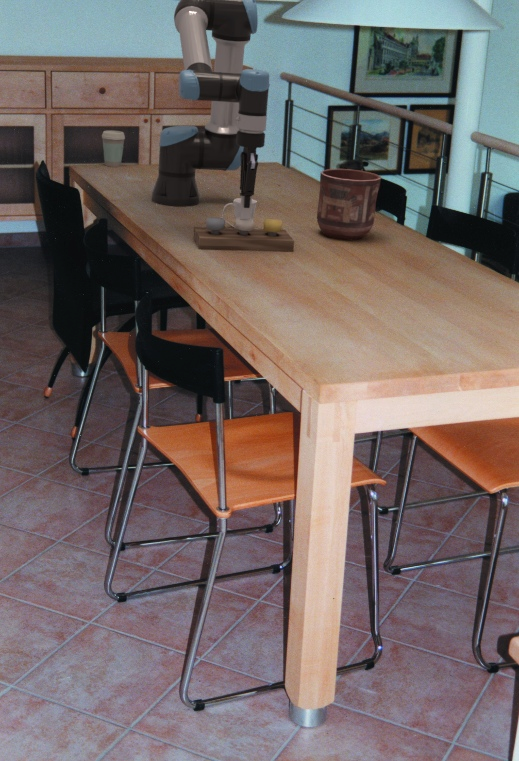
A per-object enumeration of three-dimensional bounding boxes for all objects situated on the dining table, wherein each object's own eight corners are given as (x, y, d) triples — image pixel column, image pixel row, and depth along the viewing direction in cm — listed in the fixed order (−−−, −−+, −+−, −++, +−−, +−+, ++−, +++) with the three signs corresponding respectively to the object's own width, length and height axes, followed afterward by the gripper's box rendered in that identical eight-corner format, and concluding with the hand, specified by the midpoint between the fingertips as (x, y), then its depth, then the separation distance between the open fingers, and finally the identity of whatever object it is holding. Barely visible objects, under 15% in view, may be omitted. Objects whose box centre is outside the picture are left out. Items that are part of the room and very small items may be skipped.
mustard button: (261, 236, 274) (262, 218, 272) (278, 237, 275) (280, 219, 273) (264, 241, 270) (266, 223, 268) (282, 242, 271) (283, 223, 269)
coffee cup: (128, 167, 360) (129, 134, 356) (106, 167, 356) (106, 134, 352) (119, 162, 367) (119, 130, 362) (97, 163, 363) (98, 130, 358)
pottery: (375, 245, 282) (382, 182, 275) (314, 239, 282) (320, 176, 276) (372, 231, 298) (379, 171, 292) (314, 225, 299) (320, 166, 292)
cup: (256, 231, 286) (259, 203, 283) (223, 229, 285) (224, 202, 282) (253, 225, 293) (255, 198, 290) (220, 223, 291) (221, 196, 288)
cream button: (232, 235, 272) (234, 217, 270) (250, 236, 273) (252, 217, 271) (235, 240, 268) (237, 221, 266) (253, 240, 269) (255, 222, 267)
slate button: (204, 235, 271) (205, 216, 269) (222, 235, 272) (223, 217, 270) (206, 240, 266) (208, 221, 264) (225, 240, 267) (226, 221, 265)
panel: (193, 237, 274) (194, 226, 273) (284, 240, 279) (285, 229, 278) (199, 249, 263) (199, 238, 262) (293, 251, 268) (294, 240, 267)
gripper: (233, 126, 265) (227, 212, 273) (241, 134, 253) (235, 224, 262) (260, 127, 266) (253, 213, 275) (269, 135, 254) (262, 224, 263)
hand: (244, 218), depth 268 cm, fingers closed
